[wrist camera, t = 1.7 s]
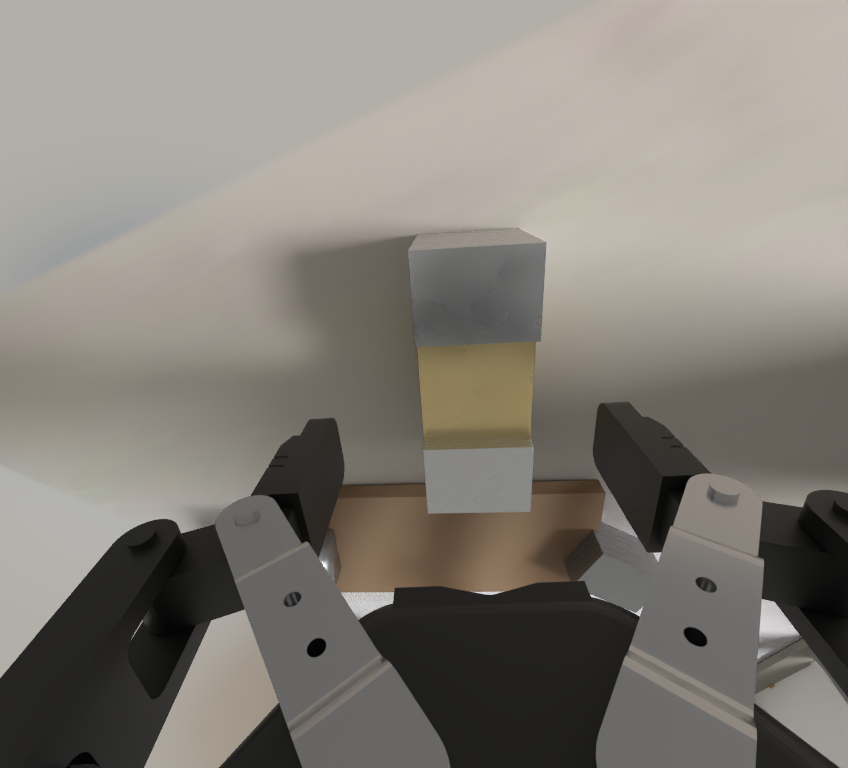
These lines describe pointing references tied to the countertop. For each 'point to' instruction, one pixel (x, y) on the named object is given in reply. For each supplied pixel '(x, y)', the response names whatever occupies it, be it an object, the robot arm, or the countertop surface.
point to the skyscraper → (805, 700)
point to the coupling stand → (483, 544)
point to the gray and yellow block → (477, 365)
